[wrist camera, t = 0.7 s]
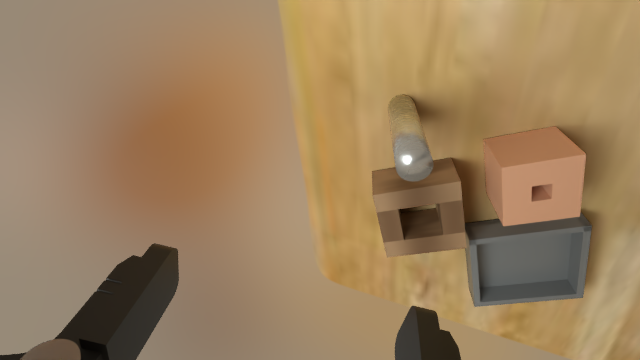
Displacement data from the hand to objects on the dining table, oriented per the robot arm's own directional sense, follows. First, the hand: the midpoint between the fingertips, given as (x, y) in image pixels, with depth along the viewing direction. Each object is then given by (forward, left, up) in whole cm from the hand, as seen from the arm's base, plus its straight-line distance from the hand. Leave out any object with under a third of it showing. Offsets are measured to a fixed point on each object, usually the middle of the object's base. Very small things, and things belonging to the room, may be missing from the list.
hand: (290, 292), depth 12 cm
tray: (-14, +20, -21) cm, 32 cm away
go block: (-5, +11, -21) cm, 25 cm away
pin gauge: (-5, +2, -21) cm, 22 cm away
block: (-14, +9, -21) cm, 27 cm away
